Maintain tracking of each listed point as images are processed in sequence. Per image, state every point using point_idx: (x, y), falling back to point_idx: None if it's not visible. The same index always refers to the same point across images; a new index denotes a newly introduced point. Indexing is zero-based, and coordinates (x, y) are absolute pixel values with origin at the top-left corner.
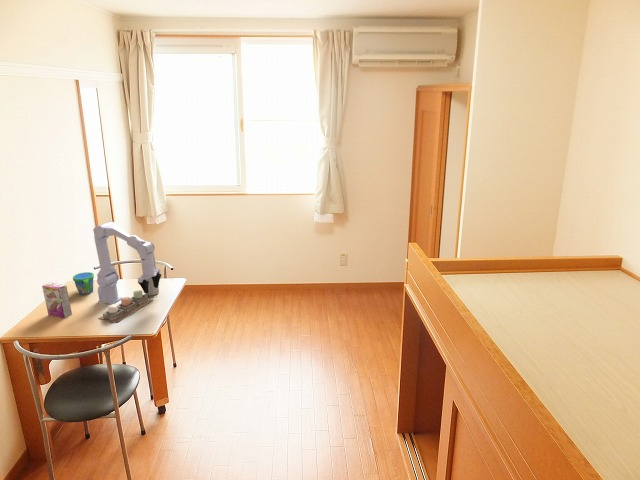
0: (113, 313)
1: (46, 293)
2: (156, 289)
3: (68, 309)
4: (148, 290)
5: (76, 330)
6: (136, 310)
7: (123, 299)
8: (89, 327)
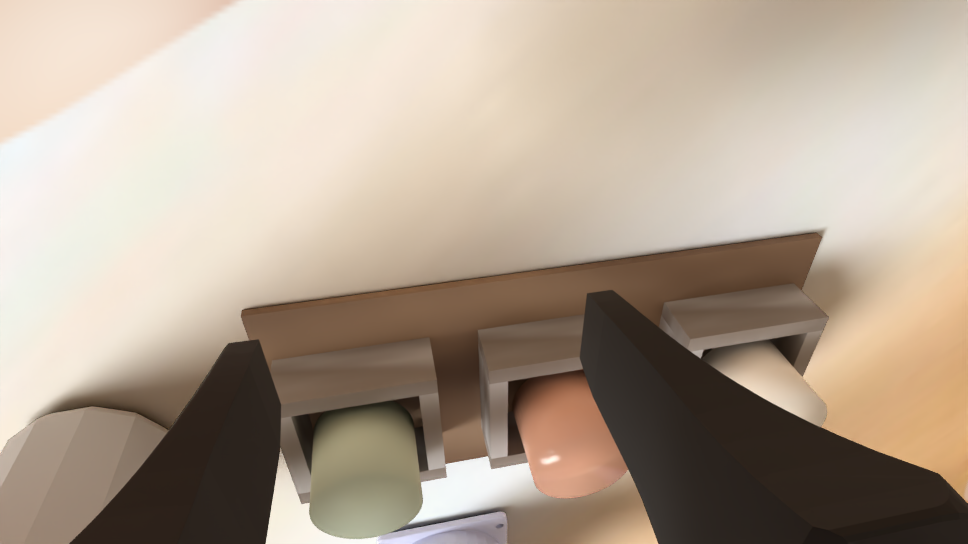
0: (781, 353)
1: None
2: (52, 458)
3: None
4: (618, 327)
5: (926, 380)
6: (551, 274)
7: (601, 471)
8: (889, 350)
